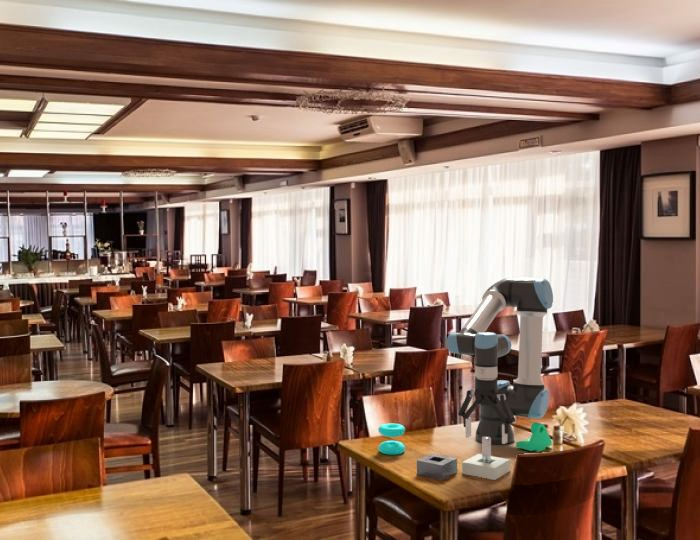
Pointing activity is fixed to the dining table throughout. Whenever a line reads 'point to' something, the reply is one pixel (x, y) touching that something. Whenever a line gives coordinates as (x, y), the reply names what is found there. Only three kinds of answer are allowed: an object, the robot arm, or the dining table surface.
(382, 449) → the donuts
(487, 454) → the steel pin
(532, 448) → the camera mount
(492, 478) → the socket plate
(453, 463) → the mount block
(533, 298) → the robot arm
